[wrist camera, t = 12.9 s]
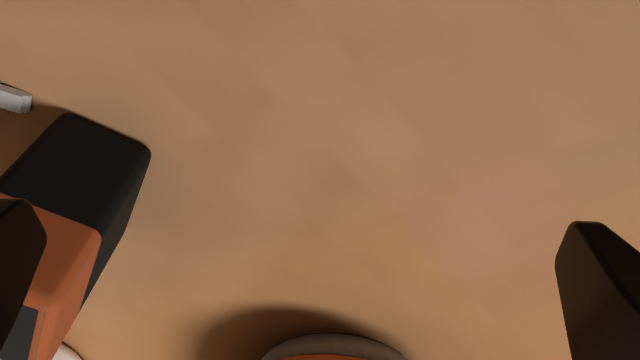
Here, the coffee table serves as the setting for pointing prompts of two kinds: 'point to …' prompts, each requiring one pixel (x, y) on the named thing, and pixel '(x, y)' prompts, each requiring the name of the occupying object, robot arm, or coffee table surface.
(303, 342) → the pie
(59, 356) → the vodka
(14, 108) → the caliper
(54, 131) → the battery
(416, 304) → the coffee table surface
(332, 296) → the coffee table surface
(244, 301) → the coffee table surface
